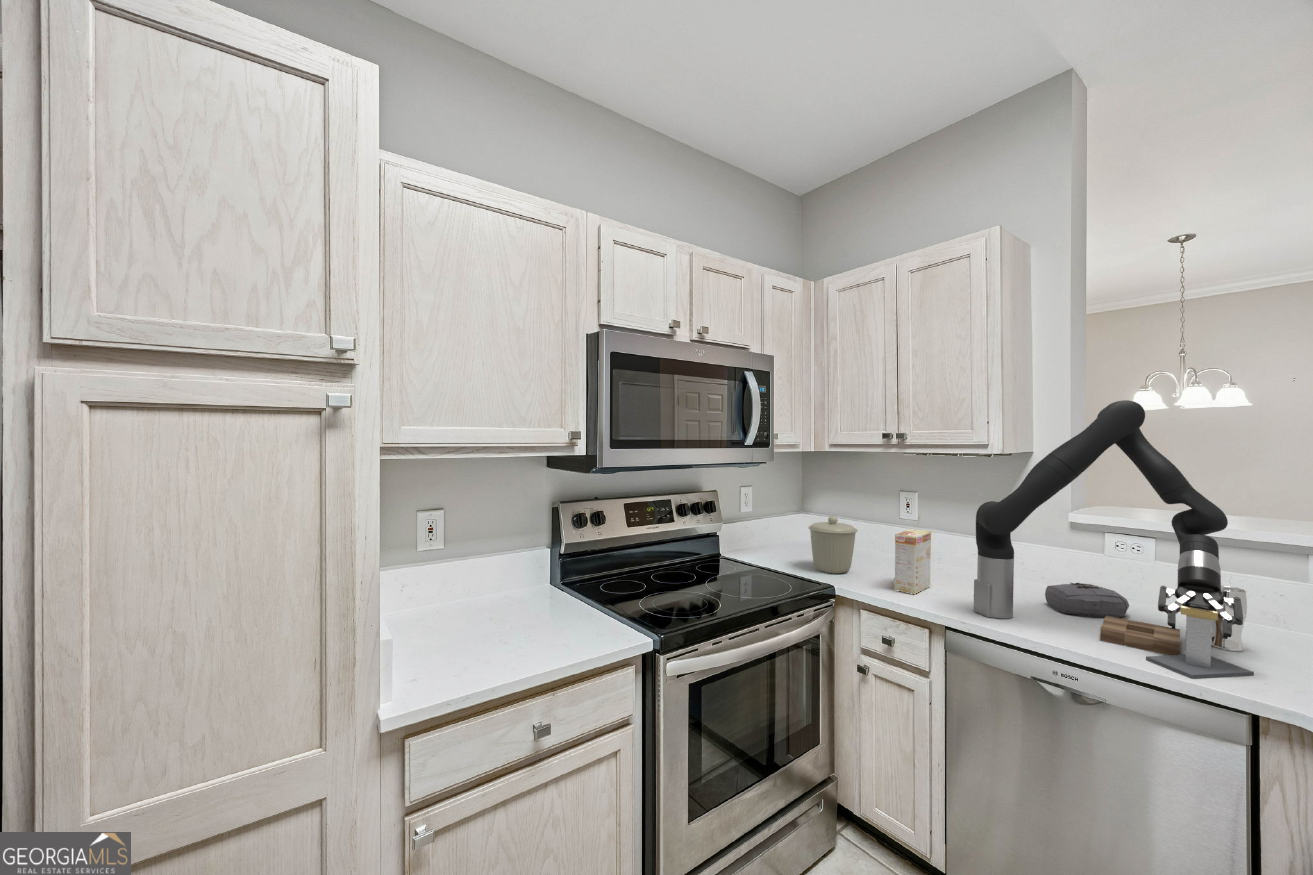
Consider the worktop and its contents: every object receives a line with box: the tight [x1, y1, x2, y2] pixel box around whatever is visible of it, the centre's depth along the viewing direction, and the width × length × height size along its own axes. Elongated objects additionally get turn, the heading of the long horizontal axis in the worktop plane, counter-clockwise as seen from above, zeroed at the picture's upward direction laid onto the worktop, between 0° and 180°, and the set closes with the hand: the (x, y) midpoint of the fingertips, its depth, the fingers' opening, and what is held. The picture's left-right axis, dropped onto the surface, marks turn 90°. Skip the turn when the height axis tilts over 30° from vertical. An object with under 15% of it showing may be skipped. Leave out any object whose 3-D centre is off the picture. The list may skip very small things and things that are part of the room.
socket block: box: [1099, 616, 1181, 656], centre depth 143 cm, size 15×15×3 cm
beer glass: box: [1211, 584, 1248, 653], centre depth 139 cm, size 7×7×15 cm
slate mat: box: [1145, 654, 1255, 680], centre depth 126 cm, size 16×10×1 cm, turn 97°
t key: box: [1180, 606, 1218, 669], centre depth 127 cm, size 6×4×13 cm, turn 47°
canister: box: [808, 515, 859, 574], centre depth 212 cm, size 18×18×21 cm
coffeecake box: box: [894, 528, 932, 595], centre depth 188 cm, size 15×7×20 cm, turn 134°
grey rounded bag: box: [1044, 582, 1130, 618], centre depth 166 cm, size 15×8×20 cm
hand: (1198, 632), depth 126 cm, fingers open, 8 cm apart
